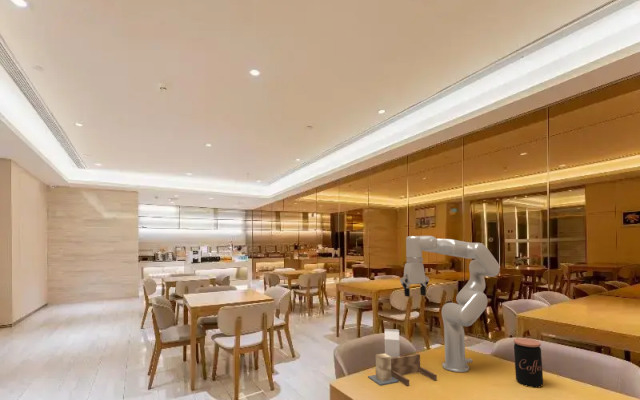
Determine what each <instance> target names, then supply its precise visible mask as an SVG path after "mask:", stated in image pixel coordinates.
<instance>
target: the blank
mask: <svg viewBox="0 0 640 400" xmlns="http://www.w3.org/2000/svg"><path fill="white" fill-rule="evenodd" d="M375 375H376V378H378V379H379V380H381V381H386V380H391V356H389V355H387V354H385V352H384V353H377V354H375Z"/></svg>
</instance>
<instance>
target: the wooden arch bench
mask: <svg viewBox="0 0 640 400" xmlns="http://www.w3.org/2000/svg"><path fill="white" fill-rule="evenodd" d="M416 373H418V374H421V375H423V376H425V377H427V378H428V379H430V380H432V381H434V382H436V381H437V380H438V375H437V374H435V373H434V372H432V371H430V370H429V369H427V368H425V367H423V366H421V354H419V353H417V354H416V353H415V354H409V355H404V356H403V355H402V356H401V355H400V357H395V358H391V376H392V377H393V378H395V379H397V380H398V381H399V382H400V383H401V384H403V385H404V386H406V387H409V386H410V379H409V378H407V377H406V376H404V375H411V374H416Z"/></svg>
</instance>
